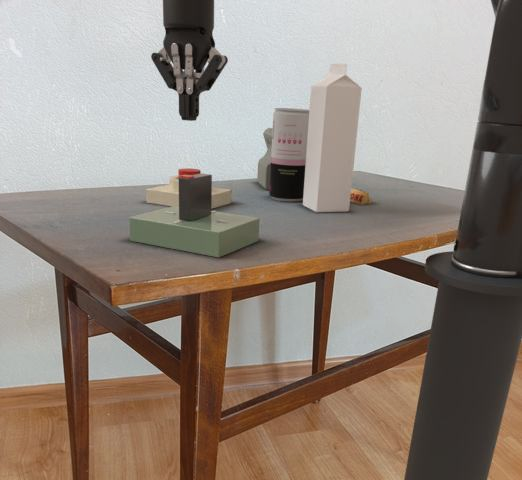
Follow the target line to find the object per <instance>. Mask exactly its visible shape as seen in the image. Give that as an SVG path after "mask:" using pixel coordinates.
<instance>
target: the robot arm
mask: <svg viewBox="0 0 522 480" xmlns="http://www.w3.org/2000/svg"><path fill="white" fill-rule="evenodd" d="M490 4H491V7H492V10H493V14H494V24H493V30H492V35H491V40H490V46H489V51H488V56H487V57H488V58H487V64H486V69H485V75H484V81H483V85H482V91H481V98H480V105H479V111H478V117H477V122H476V127H475V133H474V139H473V144H472V149H471V153H470V154H471V155H470V159H469V160H470V161H469V166H468V170H467V176H466V183H465V187H464V193H463V197H462V198H463V199H462V203H461V210H460V214H459V220H458V226H457V232H456V236H455V240H454V242H453V248H452V251H454V253H453V255H452V260H451V264H452V265H453V266H454V267H456V268H458V269H460V270H462V271H465V272H468V273H472V274H476V275H481V276H487V277H496V278H518V279H522V0H490ZM162 26H163V27H164V30H165V34H164V37H163V41H162V45H163V46H162V47H161V49H159V50H158V52H152V53H151V54H150V58H151V61H152V62H153V64H154V65H155V67H156V69H157V71H158V72H159V75H160V76H161V78H162V79H163V81H164V83H165V85H166V86H167V88H168V89H170V90H173V91H175V92H176V93H177V94H178V114H179V116H180V118H181V120H182V121H189V122H192V121H195V122H196V121H197V118H198V117H199V115H200V95H201V94H202V93H203V92H208V91H211V89H212V87H213V86H214V85H215V83H216V81H217V80H218V78H219V76H220V75H221V73H222V72H223V70H224V69H225V67H226V65H227V64H228V62H229V58H228V56H227V55H223V54H221V53H220V52H219V50H217V48H216V43H215V42H216V41H215V38H214V36H213V31H214V29H215V0H162ZM207 63H208V64H207ZM205 66H206V67H205Z"/></svg>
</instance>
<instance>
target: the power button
mask: <svg viewBox="0 0 522 480" xmlns="http://www.w3.org/2000/svg"><path fill="white" fill-rule="evenodd" d="M177 172H178V175H177V176H178V179H179V178H180V177H181V175H196V174H201V172H202V171H201V169H199V168H188V167H187V168H179V169H178V171H177Z"/></svg>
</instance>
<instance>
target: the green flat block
mask: <svg viewBox="0 0 522 480" xmlns="http://www.w3.org/2000/svg"><path fill="white" fill-rule="evenodd" d="M128 220H129V222H128V223H129V240H130V242H135V243H139V244H145V245H151V246H156V247H159V248H160V247H161V248H167V249H171V250H176V251H180V252H181V251H182V252H187V253H192V254H198V255H203V256H208V257H214V258H221V257H223V256H226V255H229V254H231V253H233V252H235V251H238V250H240V249H243V248H245V247H247V246H250V245H252V244H255V243H257V242H259V239H260V217H256V216H255V217H254V216H248V215H242V214H235V213H227V212H222V211H216V210H211V215H209V216H206V217H202V218H199V219H195V220H192V221H185V220H179V206H177V205H176V206H167V207H164V208H160V209H156V210H152V211H148V212H143V213H140V214H136V215H132V216H129V218H128Z"/></svg>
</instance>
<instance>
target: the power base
mask: <svg viewBox="0 0 522 480" xmlns="http://www.w3.org/2000/svg"><path fill="white" fill-rule="evenodd" d="M232 193H233V190H232V189H226V188H219V187H213V186H212V209H216V208H220V207H224V206H226V205H230V204H232V200H233V199H232V198H233V194H232ZM145 196H146V198H145V199H146V203H147V204H153V205H160V206H166V207H172V206H176V205H177V206H179V179H178V175H173V176H170V177H169V178H168V184H165V185H159V186H155V187H149V188H146V190H145ZM212 209H211V210H212Z"/></svg>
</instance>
